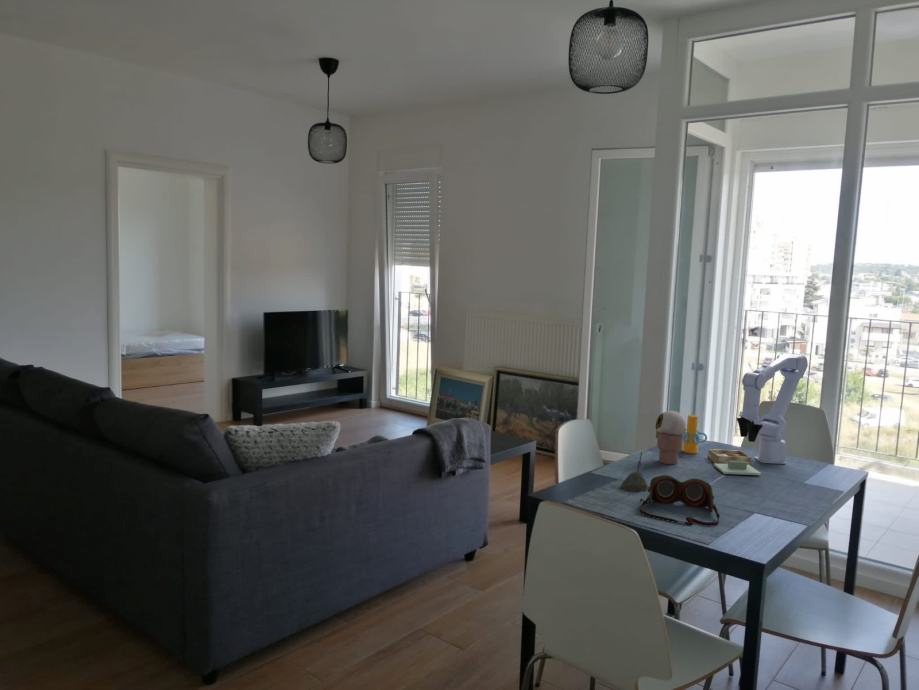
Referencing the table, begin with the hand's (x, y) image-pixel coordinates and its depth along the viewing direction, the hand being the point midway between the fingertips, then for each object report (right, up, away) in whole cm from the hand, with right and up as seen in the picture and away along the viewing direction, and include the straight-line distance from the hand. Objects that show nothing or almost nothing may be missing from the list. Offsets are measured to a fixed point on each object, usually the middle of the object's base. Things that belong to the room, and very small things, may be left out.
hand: (747, 439), depth 272 cm
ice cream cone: (-30, -9, +1) cm, 32 cm away
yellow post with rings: (-16, -8, +18) cm, 26 cm away
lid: (-7, -11, -8) cm, 15 cm away
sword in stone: (-51, -13, -33) cm, 62 cm away
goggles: (-44, -15, -54) cm, 71 cm away
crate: (-5, -10, +5) cm, 12 cm away
